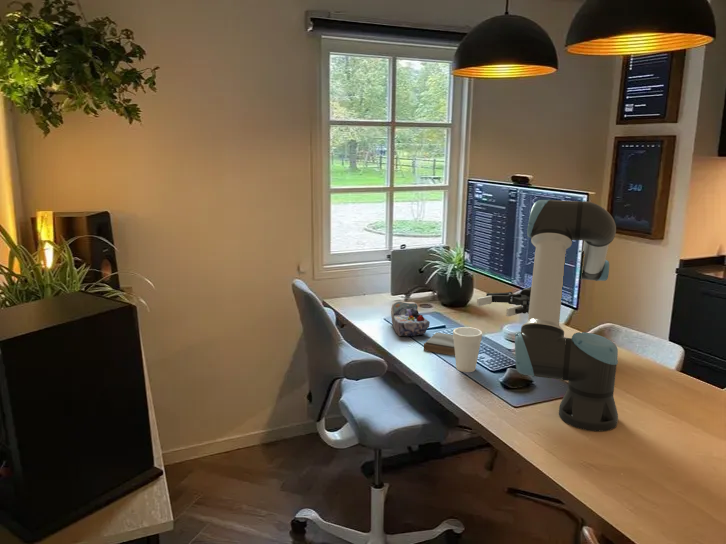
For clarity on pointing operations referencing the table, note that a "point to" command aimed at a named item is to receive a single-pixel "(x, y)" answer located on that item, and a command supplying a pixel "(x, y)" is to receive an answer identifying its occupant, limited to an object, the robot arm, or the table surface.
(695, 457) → the table surface
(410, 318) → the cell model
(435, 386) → the table surface
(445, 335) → the stand
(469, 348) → the foam cup
